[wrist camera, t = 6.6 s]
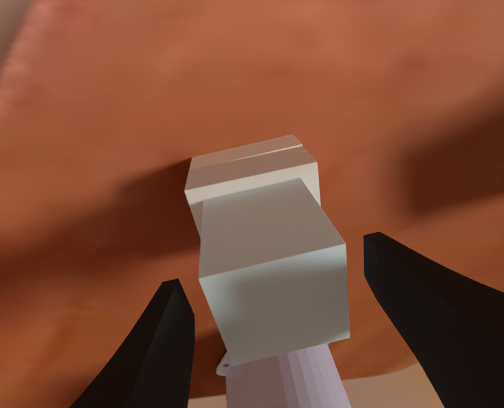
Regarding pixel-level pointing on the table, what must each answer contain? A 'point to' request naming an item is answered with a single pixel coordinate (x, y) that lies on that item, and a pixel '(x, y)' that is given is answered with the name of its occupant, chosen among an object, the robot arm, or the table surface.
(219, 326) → the pale blue block
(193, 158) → the cream slab
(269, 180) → the beige block
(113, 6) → the table surface
